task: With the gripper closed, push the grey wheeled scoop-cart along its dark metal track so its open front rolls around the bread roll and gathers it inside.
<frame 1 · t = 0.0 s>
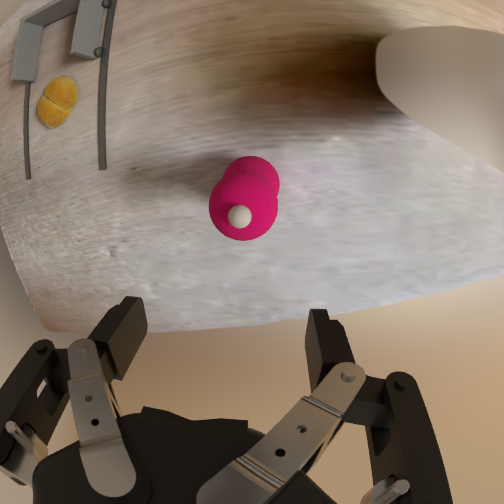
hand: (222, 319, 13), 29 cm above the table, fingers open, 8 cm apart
track: (61, 80, 33), on the table
bread roll: (62, 102, 35), on the table
pepper mill: (252, 179, 39), on the table
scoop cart: (55, 35, 26), point 3 cm above the table, slide at 0.0 cm
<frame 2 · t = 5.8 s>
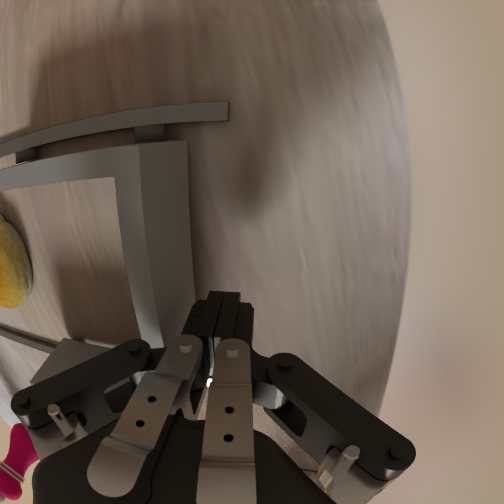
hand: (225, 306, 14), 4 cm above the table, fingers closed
track: (29, 261, 18), on the table
bread roll: (6, 253, 18), on the table
pepper mill: (38, 422, 32), on the table
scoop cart: (81, 293, 15), point 3 cm above the table, slide at 0.1 cm, touching gripper
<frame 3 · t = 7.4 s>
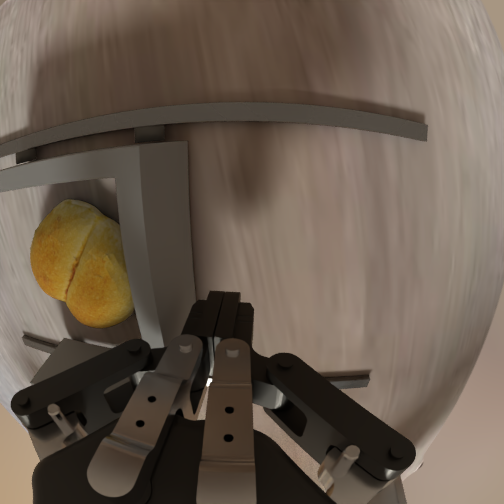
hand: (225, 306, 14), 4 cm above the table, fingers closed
track: (140, 270, 18), on the table
bread roll: (92, 257, 18), on the table
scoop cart: (81, 293, 15), point 3 cm above the table, slide at 11.2 cm, touching gripper
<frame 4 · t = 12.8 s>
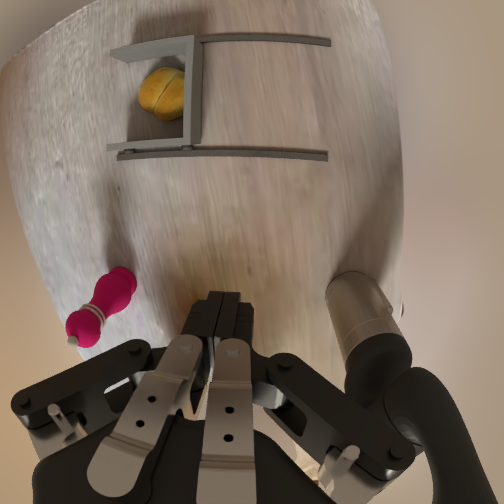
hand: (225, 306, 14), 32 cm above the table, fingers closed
track: (217, 93, 38), on the table
bread roll: (168, 94, 38), on the table
pepper mill: (123, 280, 52), on the table
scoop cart: (154, 94, 35), point 3 cm above the table, slide at 17.3 cm
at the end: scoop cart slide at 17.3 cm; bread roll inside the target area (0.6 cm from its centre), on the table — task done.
